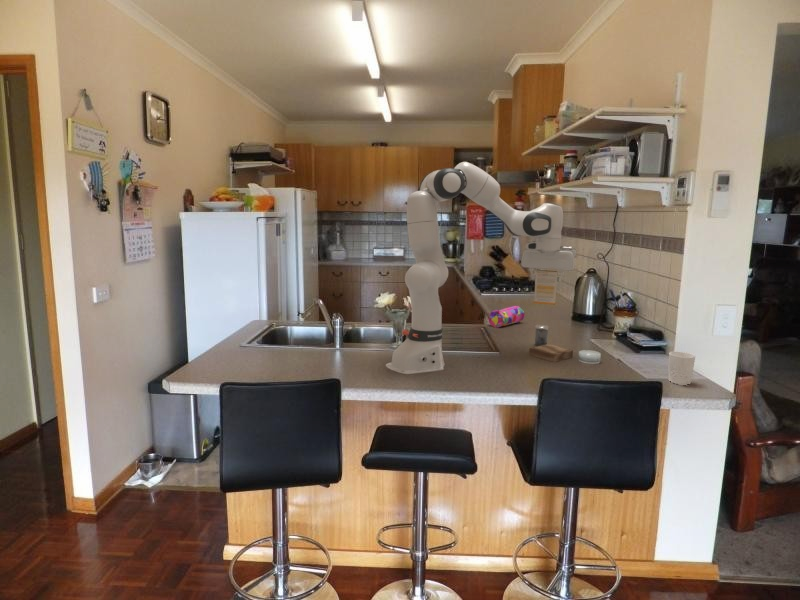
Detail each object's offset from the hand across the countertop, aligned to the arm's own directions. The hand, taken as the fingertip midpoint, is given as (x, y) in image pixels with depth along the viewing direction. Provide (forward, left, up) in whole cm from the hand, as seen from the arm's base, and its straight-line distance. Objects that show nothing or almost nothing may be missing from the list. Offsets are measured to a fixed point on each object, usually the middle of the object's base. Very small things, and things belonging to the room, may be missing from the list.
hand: (546, 280), depth 206 cm
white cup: (+12, -49, -31) cm, 59 cm away
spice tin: (+12, +10, -31) cm, 34 cm away
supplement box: (0, 0, -9) cm, 9 cm away
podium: (+2, -3, -31) cm, 31 cm away
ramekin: (+9, -16, -31) cm, 36 cm away
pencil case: (+33, +49, -31) cm, 66 cm away
